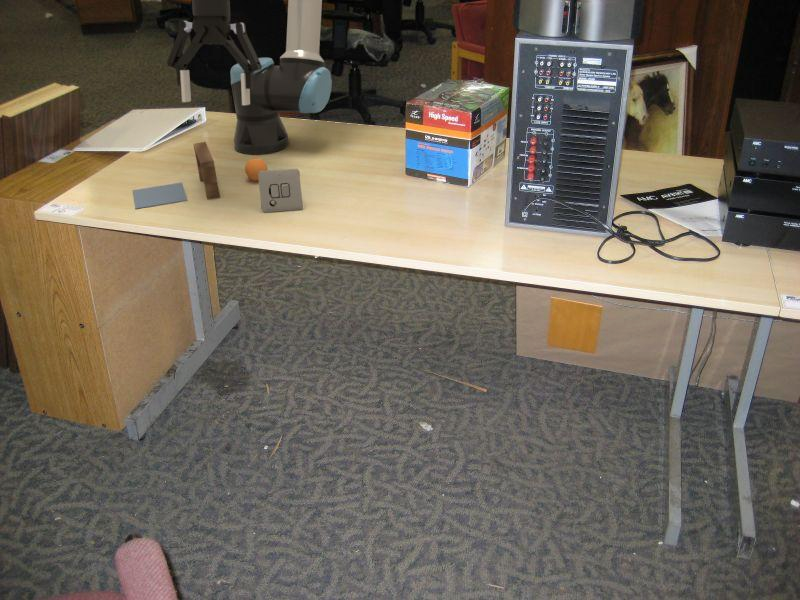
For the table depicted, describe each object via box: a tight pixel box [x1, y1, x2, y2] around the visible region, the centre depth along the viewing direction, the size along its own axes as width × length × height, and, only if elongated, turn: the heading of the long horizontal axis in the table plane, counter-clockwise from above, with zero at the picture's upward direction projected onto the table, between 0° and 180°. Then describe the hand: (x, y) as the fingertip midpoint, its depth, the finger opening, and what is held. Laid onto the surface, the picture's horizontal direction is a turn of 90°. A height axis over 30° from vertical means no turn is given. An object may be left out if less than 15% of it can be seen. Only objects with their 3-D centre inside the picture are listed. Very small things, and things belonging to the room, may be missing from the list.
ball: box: [244, 157, 269, 182], centre depth 186 cm, size 6×6×6 cm
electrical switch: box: [258, 167, 304, 213], centre depth 171 cm, size 9×5×9 cm, turn 96°
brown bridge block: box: [192, 141, 221, 200], centre depth 182 cm, size 3×14×9 cm, turn 20°
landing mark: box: [131, 182, 188, 210], centre depth 181 cm, size 12×12×1 cm
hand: (216, 103), depth 160 cm, fingers open, 13 cm apart
